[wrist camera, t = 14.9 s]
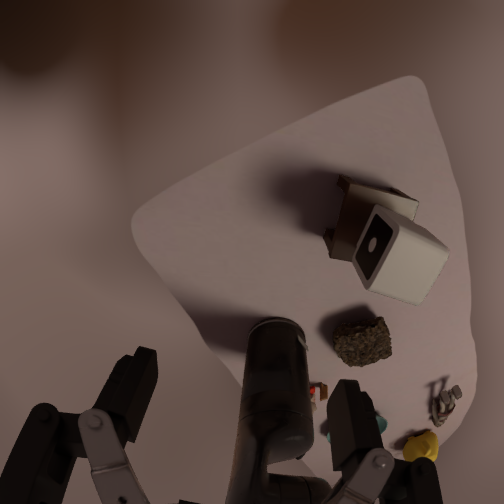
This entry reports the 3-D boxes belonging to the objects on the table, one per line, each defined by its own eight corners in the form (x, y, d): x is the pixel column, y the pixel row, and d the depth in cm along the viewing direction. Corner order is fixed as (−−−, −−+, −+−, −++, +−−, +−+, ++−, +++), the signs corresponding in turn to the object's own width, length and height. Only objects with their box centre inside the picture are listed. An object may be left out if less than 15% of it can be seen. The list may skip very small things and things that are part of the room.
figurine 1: (286, 403, 54) (281, 448, 43) (276, 381, 52) (269, 427, 41) (330, 394, 52) (332, 441, 40) (323, 371, 50) (324, 419, 39)
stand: (381, 249, 39) (396, 270, 33) (322, 238, 39) (329, 258, 33) (399, 189, 35) (419, 201, 29) (338, 173, 35) (350, 183, 29)
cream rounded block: (365, 195, 30) (401, 226, 21) (414, 217, 30) (457, 254, 21) (342, 245, 32) (366, 293, 23) (391, 263, 33) (423, 311, 24)
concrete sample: (327, 317, 44) (332, 338, 39) (388, 301, 42) (398, 320, 38) (336, 364, 48) (340, 385, 44) (389, 350, 47) (396, 370, 42)
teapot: (428, 445, 65) (436, 470, 56) (397, 455, 67) (403, 482, 57) (438, 420, 58) (449, 449, 49) (403, 432, 60) (412, 463, 51)
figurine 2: (465, 395, 44) (450, 426, 53) (457, 375, 49) (444, 410, 58) (442, 406, 45) (430, 435, 55) (434, 385, 50) (425, 418, 60)
